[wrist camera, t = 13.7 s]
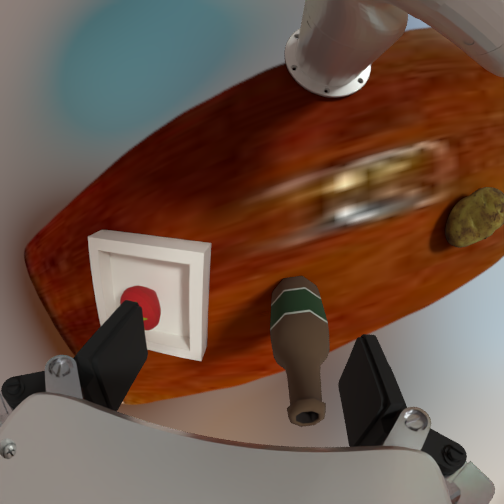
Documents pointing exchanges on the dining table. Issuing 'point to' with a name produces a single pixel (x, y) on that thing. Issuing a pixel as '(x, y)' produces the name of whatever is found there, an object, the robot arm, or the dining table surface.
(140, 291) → the strawberry
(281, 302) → the beer bottle
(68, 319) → the dining table surface
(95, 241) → the tray
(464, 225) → the potato
